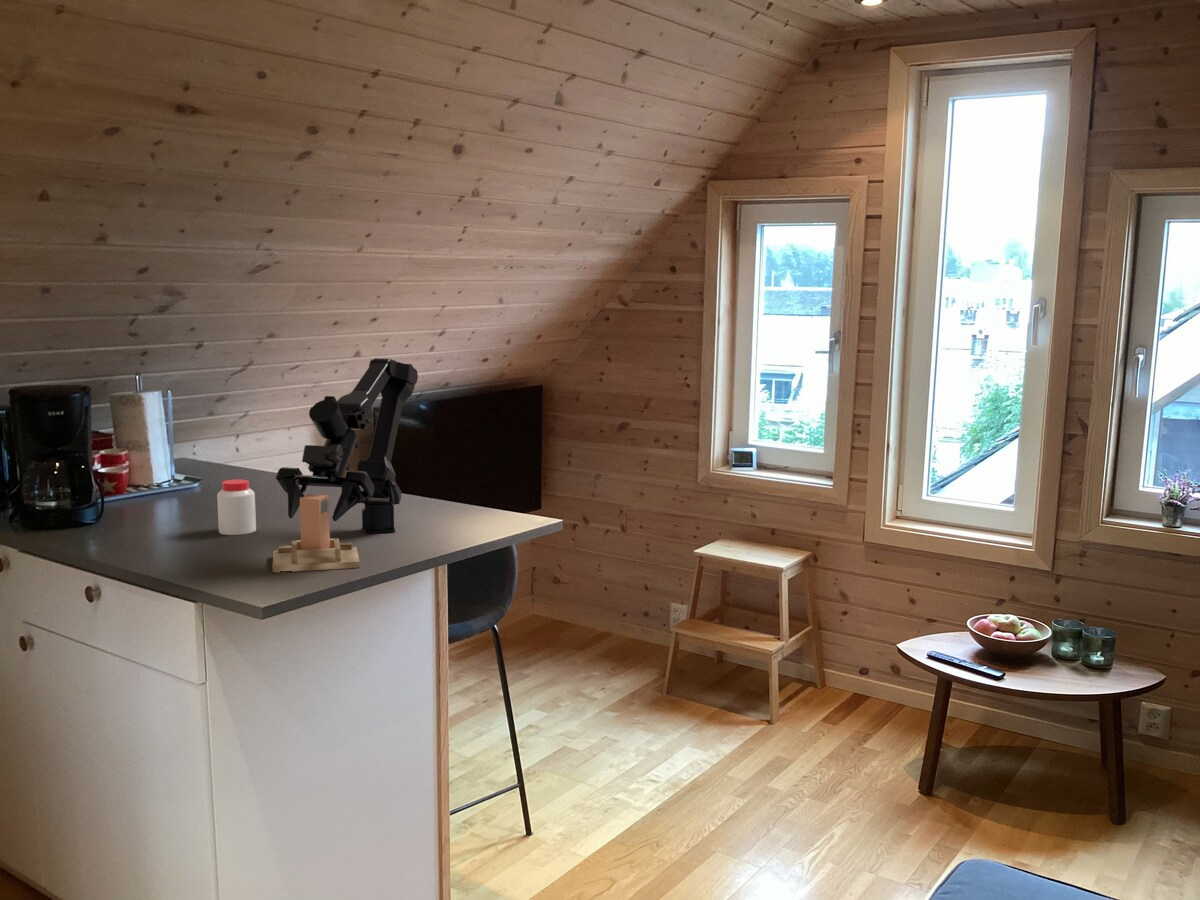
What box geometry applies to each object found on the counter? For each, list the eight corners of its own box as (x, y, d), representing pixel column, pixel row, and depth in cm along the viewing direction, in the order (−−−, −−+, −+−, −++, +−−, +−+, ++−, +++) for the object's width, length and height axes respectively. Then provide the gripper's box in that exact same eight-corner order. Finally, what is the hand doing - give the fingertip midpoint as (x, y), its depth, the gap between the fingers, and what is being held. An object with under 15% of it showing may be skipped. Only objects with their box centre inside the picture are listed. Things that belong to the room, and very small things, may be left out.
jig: (356, 552, 216) (355, 534, 216) (359, 567, 205) (359, 548, 204) (273, 556, 212) (273, 538, 211) (272, 572, 201) (272, 553, 200)
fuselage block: (311, 554, 210) (309, 494, 208) (330, 555, 209) (328, 495, 207) (301, 559, 206) (299, 498, 204) (320, 560, 205) (319, 499, 203)
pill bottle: (243, 525, 239) (241, 477, 237) (263, 530, 234) (261, 481, 232) (211, 531, 233) (209, 481, 231) (231, 536, 228) (229, 486, 226)
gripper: (278, 426, 209) (250, 492, 201) (367, 430, 206) (342, 497, 197) (299, 460, 218) (273, 524, 209) (384, 464, 214) (362, 530, 205)
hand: (311, 518), depth 205 cm, fingers open, 9 cm apart
